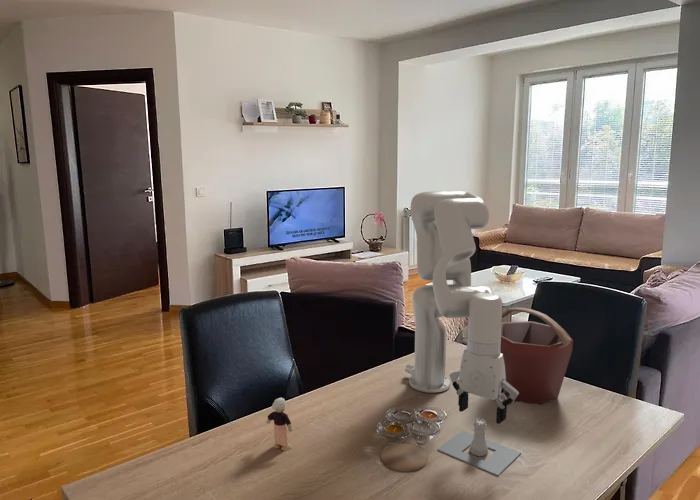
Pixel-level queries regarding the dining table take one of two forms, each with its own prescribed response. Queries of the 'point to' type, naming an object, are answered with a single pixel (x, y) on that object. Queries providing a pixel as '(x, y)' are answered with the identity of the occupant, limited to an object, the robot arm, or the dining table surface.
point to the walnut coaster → (404, 457)
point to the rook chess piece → (479, 439)
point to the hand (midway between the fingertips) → (481, 415)
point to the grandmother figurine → (280, 424)
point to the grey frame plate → (492, 464)
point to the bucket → (535, 357)
